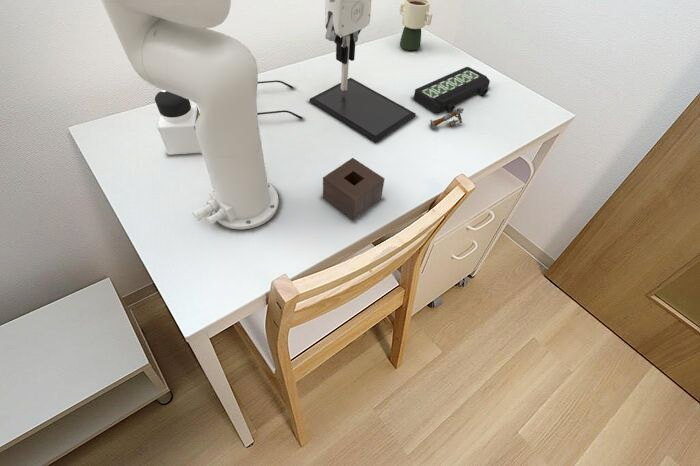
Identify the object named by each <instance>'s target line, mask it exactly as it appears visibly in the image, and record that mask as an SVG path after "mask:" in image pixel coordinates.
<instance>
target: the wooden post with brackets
mask: <svg viewBox="0 0 700 466" xmlns="http://www.w3.org/2000/svg"><path fill="white" fill-rule="evenodd" d="M464 110H465V108H463V107H458V108H456V109H454V110H453V111H452V112H448V113H447V114H445V115H442V117H439V118H437V119H434V120H432V119H430V120H429V122H430V125H431V127H432V129H433V130H436V127H437V126H439V125H441V124H443V123H444V122H447V121H449V120H451V119H452V120H451V121H449V122H448V123H447V126H448V127H453V126H456V125H457V124H456V123H458V122H459V124H462V123H463V118H462V114H463V111H464ZM454 117H455V118H457V119H453V118H454Z"/></svg>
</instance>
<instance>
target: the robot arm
mask: <svg viewBox="0 0 700 466" xmlns="http://www.w3.org/2000/svg"><path fill="white" fill-rule="evenodd" d="M101 2H102V5H103V7H104V9H105V11H106V14H107V16H108V18H109V20H110V22H111V23H110V24H112V27H113V29H114V32H115V34H116V36H117V38H118V41H119V43H120V45H121V47H122V49H123V51H124V54H125V55H126V58H127V59H128V61H129V63H130V65H131V67H132V68H133V70H134V71H135V72H136V74H137V75H138V76H139V77H140V78H141V79H142V80H143V81H144V82H146V83H148V84H149V85H151V86H153V87H155V88H158V89H160V90H161V91H162V90H165V91H168V92H170V93H173V94H176V95H179V96H181V97H183V98H186V99H188V100H189V101H191V102H192V103H195V105H196V106H197V107H198V109H199V113H200V115H199V116H198V118H197V120H196V124H195V131H196V136H197V140H198V143H199V146H200V149H201V152H202V153H201V155H202V158H203V162H204V165H205V167H206V171H207V172H208V177H209V179H210V183H211V186H212V190H213V191H210V192H209V193H208V195H209V198H210V199H209V200H207V201H206V204H205V205H203V206H199V208H196V209H195V210H193V211H192V212H191V214H192V216H193V218H194V219H195V220H196V221H197V222H200V221H201V220H203V219H205V218H206V217H207V218H206V219H207V221H208V223H209V224H210V225H213V224H215V223H216V222H217V223H219V224H220V225H222V226H223V227H225V228H228V229H233V230H250V229H254V228H257V227H260V226H262V225H264V224H265V223H267V222H269V221H270V220H271V219H272V218H274V216H275V214H276V213H277V211H278V208H279V204H280V201H279V200H280V199H279V195H278V192H277V190H276V188H275V187H274V186H273V185H272V184H270V183H269V182H268V177H267V171H266V170H267V169H266V163H265V158H264V151H263V145H262V144H263V143H262V138H261V131H260V125H259V117H258V115H257V113H258V102H257V97H258V84H259V83H258V82H259V72H258V70H259V69H258V64H257V61H256V58H255V56H254V54H253V53H252V51H251V50H250V49H249V48H248V46H247V45H245V44H244V43H242V42H241V41H240V40H238V39H236V38H235V37H232V36H230V35H228V34H225V33H222V32H219V31H216V30H213V29H212V28H216V27H217V26H219V25H221V24H223V23H224V22H225V20H226V19H227V18H228V16H229V14H230V11H231V5H232V0H101ZM324 5H325V6H324V26H325V29H326V32H325V35H324V37H325V40H328V41H329V42H333V43H334V44H335V60H336V61H338V62H340V64H342V63H343V64H347V62H348V46H346V44H347V35H350V46H349V61H351V62H353V61H355V57H356V43H357V42H358V40H359V35H360V33H361V31H362V30H363V29H365V28H366V27H368V26H369V24H370V23H371V13H372V12H371V11H372V0H325V4H324ZM210 214H211V215H210ZM208 215H210V216H208Z"/></svg>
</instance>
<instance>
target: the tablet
mask: <svg viewBox="0 0 700 466" xmlns="http://www.w3.org/2000/svg"><path fill="white" fill-rule="evenodd" d="M308 100H309V103H311V104H312V105H314V106H315V107H316V108H318V109H320V110H321V111H323V112H325V113H327V114H328V115H330V116H331V117H333V118H335V119H336V120H338V121H339V122H341V123H342V124H344V125H346V126H348V127H349V128H350V129H352V130H354V131H355V132H357V133H359V134H360V135H362V136H363V137H365V138H367V139H368V140H370V141H371V142H374V143H375V144H377V143H378V142H380V141H381V140H383V139H384V138H386V137H387V136H389V135H390V134H392V133H393V132H395V131H396V130H398V129H399V128H401V127H402V126H404V125H406V124H407V123H408V122H410V121H411V120H413V119H414V118H416V115H417V113H415V112H414V111H412V110H410V109H408V108H406V107H405V106H404V105H403V106H402V105H401V104H399V103H398V102H395V101H394V100H392V99H391V98H388V97H387V96H385V95H384V94H381V93H379V92H377V91H376V90H374V89H372V88H370V87H368V86H367V85H365V84H363V83H361V82H359V81H358V80H355V79H354V78H352V77H348V83H347V90H346V91H345V93H342V90H341V82H339V83H337V84H335V85H333V86H331V87H330V88H328V89H325V90H324V91H322V92H320V93H318V94H316V95H315V96H312V97H311V98H309V99H308Z"/></svg>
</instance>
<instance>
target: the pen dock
mask: <svg viewBox="0 0 700 466" xmlns="http://www.w3.org/2000/svg"><path fill="white" fill-rule="evenodd" d="M384 184H385V178H384V177H383V176H382V175H380V174H378V173H376V172H375V171H373V170H372V169H371V168H369V167H368V166H366V165H365V164H364V163H362V162H360V161H359V160H357V159H355V158H354V157H351V158H350V159H348V160H347V161H345V162H344V163H342V164H341V165H339V166H338V167H337V168H335V169H333V170H332V171H331V172H329V173H328V174H326V175H324V176H323V177H322V199H324V200H325V201H327V202H328V203H329V204H330V205H332V206H333V207H335V208H336V209H337V210H338V211H339V212H341V213H343V214H344V215H345V216H347V217H348V218H349V219H350V220H352V221H355V220H356V219H357V218H359V217H360V216H361V215H362V214H364V213H365V212H367V211H368V210H369V209H370V208H372V206H374V205H375V204H376V203H378V202H379V201H380V200H382V197H383V196H382V195H383V190H384Z"/></svg>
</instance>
